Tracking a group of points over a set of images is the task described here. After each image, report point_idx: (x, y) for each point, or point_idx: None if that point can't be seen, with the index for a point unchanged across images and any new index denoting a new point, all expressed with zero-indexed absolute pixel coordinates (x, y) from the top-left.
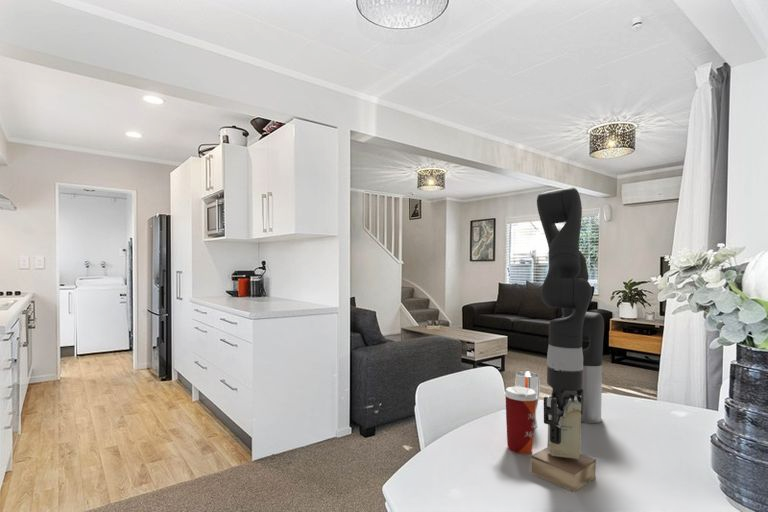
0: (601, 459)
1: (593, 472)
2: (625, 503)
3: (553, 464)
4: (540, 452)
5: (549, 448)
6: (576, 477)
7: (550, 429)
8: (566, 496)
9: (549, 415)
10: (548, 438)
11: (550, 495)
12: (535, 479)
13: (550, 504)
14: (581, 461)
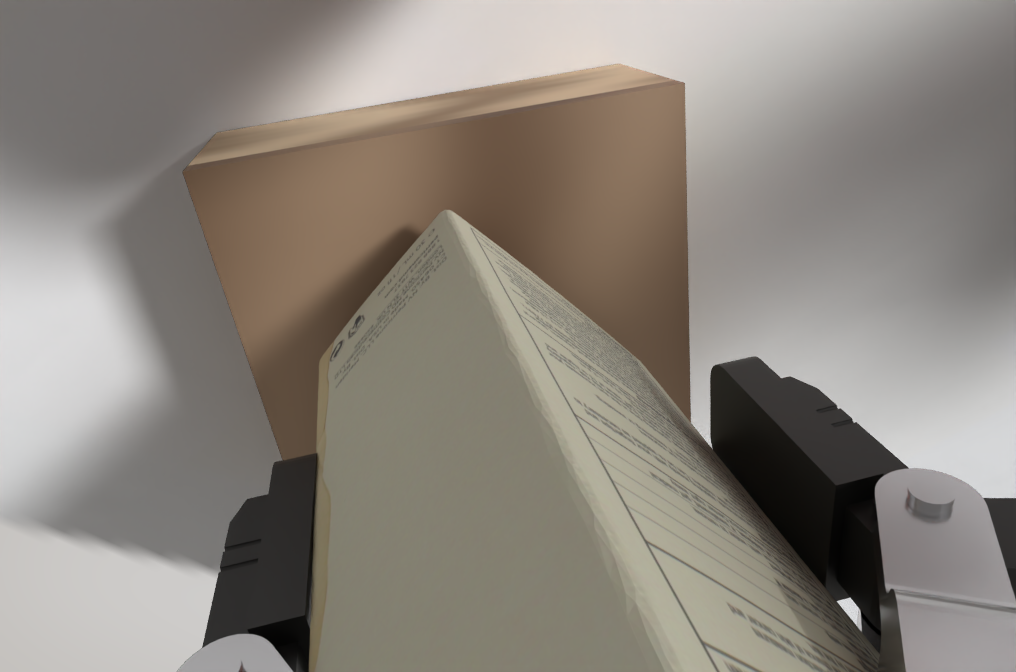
0: (951, 238)
1: None
2: None
3: (264, 407)
4: (352, 169)
5: (368, 314)
6: None
7: (209, 628)
8: (220, 485)
9: (463, 529)
10: (420, 300)
11: (110, 441)
12: (173, 232)
13: (19, 515)
14: None
